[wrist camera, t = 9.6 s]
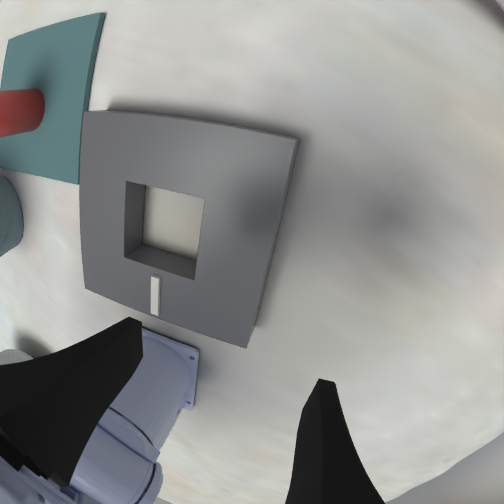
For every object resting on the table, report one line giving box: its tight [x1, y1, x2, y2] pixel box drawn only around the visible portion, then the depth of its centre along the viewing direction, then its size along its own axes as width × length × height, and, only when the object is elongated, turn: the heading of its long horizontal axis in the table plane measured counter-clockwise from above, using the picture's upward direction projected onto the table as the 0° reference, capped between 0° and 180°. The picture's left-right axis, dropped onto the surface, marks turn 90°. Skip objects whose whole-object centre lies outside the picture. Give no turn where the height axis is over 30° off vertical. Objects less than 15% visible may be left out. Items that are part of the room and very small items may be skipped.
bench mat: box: [0, 13, 105, 185], centre depth 19 cm, size 14×14×1 cm
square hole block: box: [79, 110, 299, 348], centre depth 20 cm, size 14×14×3 cm
